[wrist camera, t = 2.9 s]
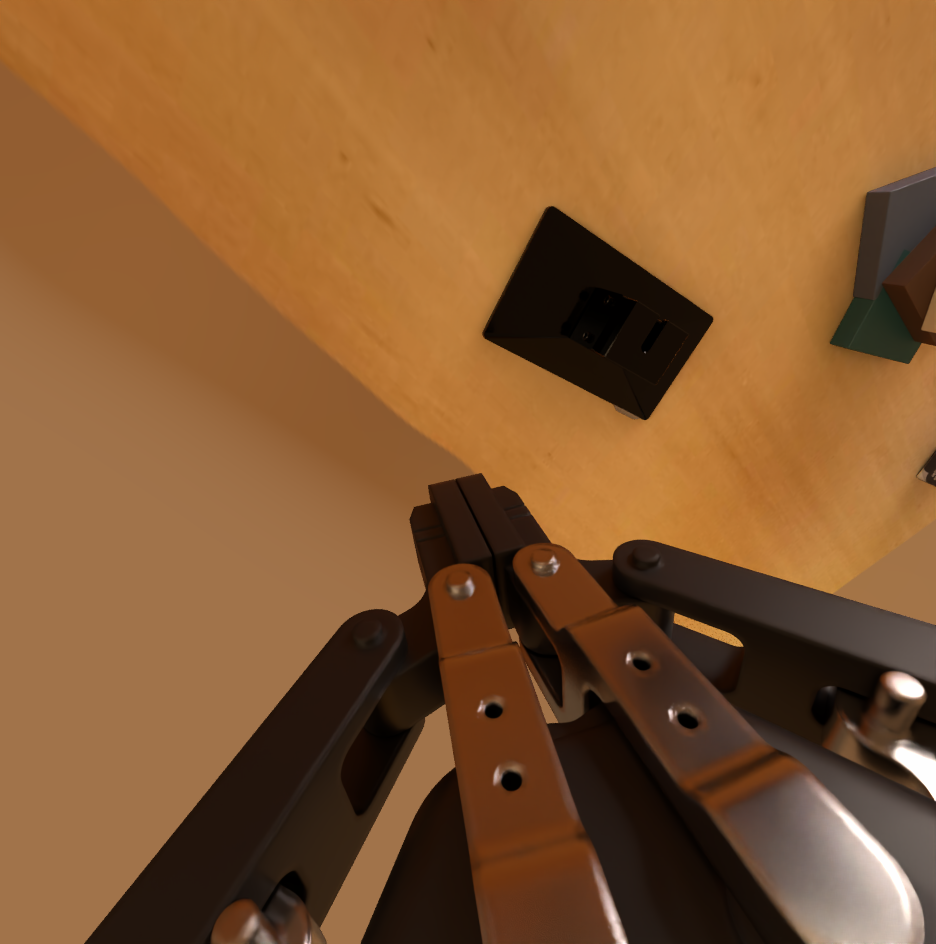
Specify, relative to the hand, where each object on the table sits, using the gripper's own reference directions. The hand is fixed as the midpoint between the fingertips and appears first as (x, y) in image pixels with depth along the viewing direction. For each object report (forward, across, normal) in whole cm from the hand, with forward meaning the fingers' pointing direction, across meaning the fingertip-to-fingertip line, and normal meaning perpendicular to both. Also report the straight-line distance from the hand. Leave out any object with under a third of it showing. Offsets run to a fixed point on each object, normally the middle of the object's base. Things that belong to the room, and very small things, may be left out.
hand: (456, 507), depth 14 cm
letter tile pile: (+14, -34, 0) cm, 37 cm away
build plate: (+14, -12, 0) cm, 19 cm away
